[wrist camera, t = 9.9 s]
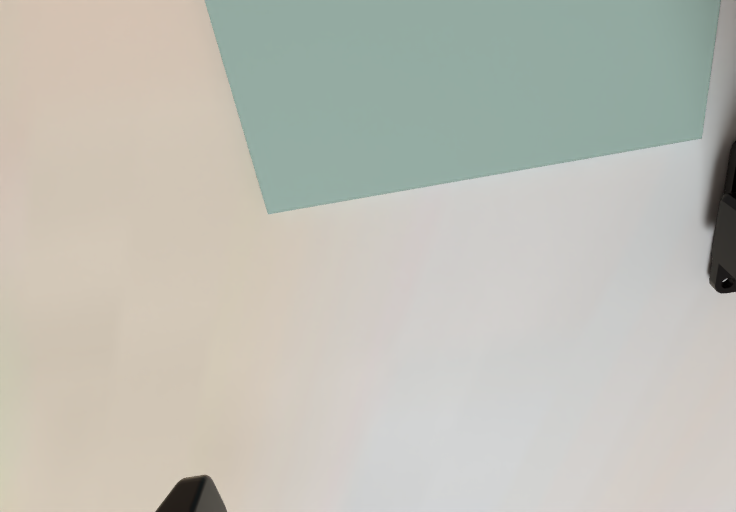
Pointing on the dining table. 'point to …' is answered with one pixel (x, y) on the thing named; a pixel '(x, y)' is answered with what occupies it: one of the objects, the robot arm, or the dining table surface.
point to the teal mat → (455, 87)
